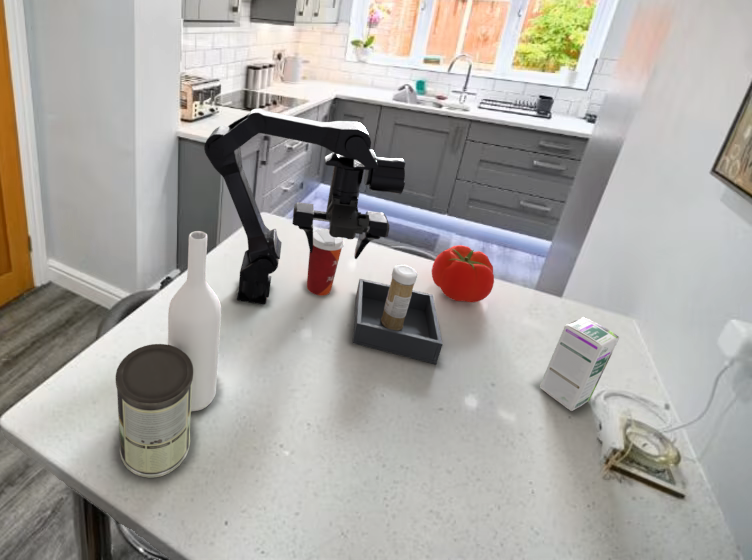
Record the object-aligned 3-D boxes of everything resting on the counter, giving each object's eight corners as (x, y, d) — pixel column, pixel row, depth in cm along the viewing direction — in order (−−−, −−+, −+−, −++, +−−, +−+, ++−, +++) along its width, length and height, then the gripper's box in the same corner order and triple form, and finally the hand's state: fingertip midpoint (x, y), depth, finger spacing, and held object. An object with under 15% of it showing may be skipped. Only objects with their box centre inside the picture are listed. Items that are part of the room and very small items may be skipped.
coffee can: (105, 440, 64) (101, 367, 59) (163, 401, 71) (164, 332, 66) (144, 495, 57) (143, 419, 52) (204, 446, 64) (209, 374, 59)
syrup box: (572, 412, 74) (605, 347, 69) (537, 386, 79) (565, 323, 74) (589, 401, 77) (622, 337, 71) (554, 376, 82) (583, 314, 76)
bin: (352, 343, 86) (356, 323, 84) (355, 296, 100) (359, 278, 98) (436, 364, 82) (443, 344, 80) (427, 312, 96) (433, 294, 94)
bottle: (205, 418, 68) (215, 256, 57) (158, 403, 70) (159, 242, 59) (222, 379, 76) (234, 228, 64) (179, 366, 78) (183, 217, 66)
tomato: (439, 269, 113) (450, 234, 109) (494, 294, 105) (508, 256, 101) (417, 290, 104) (428, 253, 100) (476, 319, 95) (490, 279, 91)
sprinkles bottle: (380, 314, 93) (393, 261, 88) (402, 319, 92) (416, 266, 87) (380, 328, 89) (394, 273, 84) (403, 334, 88) (418, 279, 83)
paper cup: (338, 299, 98) (348, 246, 93) (304, 297, 98) (312, 243, 93) (331, 279, 106) (340, 228, 100) (300, 277, 105) (307, 226, 100)
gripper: (296, 198, 79) (287, 270, 85) (402, 211, 77) (384, 284, 83) (297, 175, 89) (289, 241, 95) (391, 186, 87) (376, 253, 93)
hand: (333, 254), depth 91 cm, fingers open, 9 cm apart
